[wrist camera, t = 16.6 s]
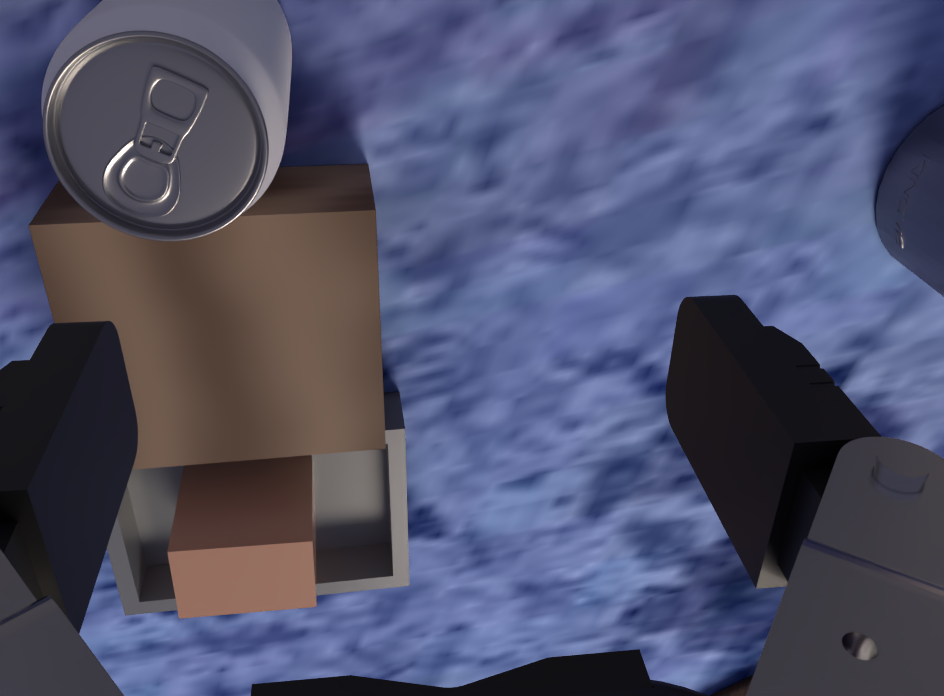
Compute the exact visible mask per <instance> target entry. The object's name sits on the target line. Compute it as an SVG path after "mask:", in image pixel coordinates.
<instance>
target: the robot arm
mask: <svg viewBox="0 0 944 696" xmlns="http://www.w3.org/2000/svg"><path fill="white" fill-rule="evenodd" d="M876 222H877V229H878V232H879V235H880V238H881V241H882V243H883V245H884V246H885V248H886V249H887V251H888V252H889V254H890V255H891V256H893V257H894V258H895V259H896V260H897V261H899V262H900V263H901V264H902V265H904V266H905V267H906V268H908V269H909V270H910V271H911V272H913V273H914V274H915V275H917V276H918V277H919V278H920V279H922V280H923V281H924V282H926V283H927V284H928V285H929V286H931V287H932V288H933V289H935V290H936V291H937V292H938V293H940V294H941V295H942V296H943V297H944V106H942V107H941V108H939V109H938V110H936V111H934V112H933V113H931V114H930V115H929V116H928V117H927V118H926V119H925V120H924V121H923V122H921V123H920V124H919V125H918V126H917V127H916V128H915V129H914V130H913V131H912V132H911V133H910V135H909V136H908V137H907V138H906V140H905V141H904V142H903V143H902V144H901V146H900V147H899V148H898V150H897V151H896V153H895V155H894V157H893V158H892V160H891V162H890V163H889V165H888V167H887V169H886V171H885V174H884V177H883V179H882V182H881V185H880V187H879V192H878V198H877V204H876ZM666 408H667V414H668V419H669V422H670V425H671V427H672V430H673V432H674V433H675V435H676V437H677V439H678V441H679V443H680V445H681V447H682V449H683V451H684V452H685V454H686V456H687V458H688V460H689V462H690V464H691V466H692V468H693V470H694V471H695V473H696V475H697V477H698V479H699V481H700V483H701V485H702V487H703V489H704V490H705V492H706V494H707V496H708V498H709V500H710V502H711V504H712V506H713V508H714V509H715V511H716V513H717V515H718V517H719V519H720V521H721V523H722V525H723V527H724V528H725V530H726V532H727V534H728V536H729V538H730V540H731V542H732V544H733V546H734V547H735V549H736V551H737V553H738V555H739V557H740V559H741V561H742V563H743V565H744V566H745V568H746V570H747V572H748V574H749V576H750V578H751V580H752V582H753V584H754V585H755V587H756V589H757V588H769V587H781V586H786V588H785V591H784V594H783V597H782V599H781V602H780V605H779V607H778V610H777V613H776V616H775V618H774V621H773V624H772V626H771V629H770V632H769V634H768V637H767V640H766V643H765V645H764V648H763V651H762V653H761V656H760V659H759V662H758V664H757V667H756V670H755V672H754V675H753V678H752V681H751V683H750V686H749V689H748V691H747V694H746V696H944V459H943V458H942V457H940V456H939V455H937V454H935V453H934V452H932V451H930V450H928V449H926V448H923V447H921V446H919V445H916V444H913V443H910V442H907V441H903V440H899V439H894V438H888V437H881V436H880V434H879V433H878V432H877V431H876V430H875V429H874V427H873V426H872V425H871V424H870V423H869V422H868V420H867V419H866V418H865V417H864V416H863V414H862V413H861V412H860V411H859V410H858V409H857V407H856V406H855V405H854V404H853V403H852V402H851V400H850V399H849V398H848V397H847V396H846V395H845V393H844V392H843V391H842V390H841V389H840V388H839V386H835V385H834V380H833V379H832V378H831V377H830V376H829V375H828V373H827V372H826V371H825V370H824V369H820V364H819V363H818V362H817V361H816V359H815V358H814V357H813V356H812V355H811V354H810V352H809V351H808V350H807V349H806V348H805V346H804V345H803V344H802V343H800V342H799V341H797V340H795V339H794V338H792V337H790V336H789V335H787V334H785V333H784V332H782V331H780V330H779V329H777V328H775V327H774V326H763V325H762V324H761V323H760V322H759V320H758V319H757V318H756V317H755V315H754V314H753V313H752V312H751V310H750V309H749V308H748V307H747V305H746V304H745V303H744V302H743V301H742V299H741V298H740V297H739V296H737V295H722V296H699V297H686V298H684V299H683V301H682V302H681V304H680V307H679V311H678V316H677V322H676V328H675V334H674V340H673V347H672V353H671V359H670V365H669V372H668V378H667V384H666ZM137 447H138V424H137V416H136V411H135V406H134V402H133V397H132V393H131V388H130V384H129V379H128V375H127V371H126V366H125V362H124V357H123V353H122V348H121V344H120V339H119V335H118V332H117V329H116V327H115V325H114V324H113V323H112V322H111V321H93V322H70V323H53V324H51V325H50V326H49V328H48V329H47V331H46V333H45V335H44V336H43V338H42V340H41V342H40V343H39V345H38V347H37V349H36V350H35V352H34V354H33V356H32V357H31V359H30V360H23V361H12V362H10V363H9V364H8V365H6V366H5V367H4V368H2V369H1V370H0V696H124V695H123V694H122V692H121V691H120V689H119V688H118V687H117V685H116V684H115V683H114V681H113V680H112V679H111V677H110V676H109V674H108V673H107V672H106V670H105V669H104V668H103V666H102V665H101V664H100V662H99V661H98V659H97V658H96V657H95V655H94V654H93V653H92V651H91V650H90V649H89V647H88V646H87V644H86V643H85V642H84V640H83V639H82V638H81V636H80V635H79V632H80V629H81V626H82V623H83V620H84V617H85V614H86V611H87V608H88V604H89V601H90V598H91V595H92V592H93V589H94V586H95V583H96V580H97V577H98V573H99V570H100V567H101V564H102V561H103V558H104V555H105V552H106V549H107V546H108V542H109V539H110V536H111V533H112V530H113V527H114V524H115V521H116V518H117V515H118V511H119V508H120V505H121V502H122V499H123V496H124V493H125V490H126V487H127V484H128V480H129V477H130V474H131V471H132V468H133V465H134V462H135V458H136V454H137ZM251 696H707V695H705V694H702V693H699V692H697V691H694V690H691V689H688V688H685V687H682V686H678V685H674V684H670V683H665V682H661V681H655V680H650V678H649V676H648V673H647V670H646V667H645V664H644V661H643V658H642V656H641V653H640V650H628V651H617V652H605V653H594V654H583V655H572V656H561V657H550V658H545V659H542V660H539V661H536V662H533V663H530V664H527V665H524V666H521V667H518V668H515V669H512V670H509V671H506V672H503V673H500V674H497V675H494V676H491V677H488V678H485V679H482V680H479V681H476V682H473V683H470V684H467V685H464V686H460V687H454V688H443V687H435V686H427V685H420V684H412V683H405V682H397V681H389V680H382V679H374V678H367V677H359V676H352V675H350V676H339V677H328V678H317V679H305V680H294V681H283V682H272V683H261V684H252V690H251Z"/></svg>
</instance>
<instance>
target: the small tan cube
mask: <svg viewBox="0 0 944 696" xmlns="http://www.w3.org/2000/svg"><path fill="white" fill-rule="evenodd" d="M167 553H168V559H169V564H170V570H171V575H172V581H173V586H174V592H175V598H176V603H177V609H178V614H179V618H191V617H203V616H214V615H226V614H238V613H249V612H261V611H272V610H284V609H296V608H307V607H317V606H316V513H315V496H314V479H313V462H312V455H307V456H293V457H281V458H269V459H256V460H244V461H232V462H220V463H208V464H196V465H184V468H183V473H182V478H181V484H180V489H179V494H178V499H177V504H176V510H175V515H174V520H173V525H172V530H171V536H170V541H169V546H168V551H167Z"/></svg>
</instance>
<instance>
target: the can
mask: <svg viewBox="0 0 944 696" xmlns="http://www.w3.org/2000/svg"><path fill="white" fill-rule="evenodd" d="M291 68H292V43H291V36H290V31H289V27H288V23H287V20H286V18H285V15H284V13H283V10H282V8H281V6H280V4H279V3H278V1H277V0H102V1H101V2H100V3H99V4H98V5H97V6H96V7H95V8H94V9H93V10H91V11H90V12H89V13H88V14H87V15H86V16H85V17H84V18H83V19H82V20H81V21H80V22H79V23H78V24H77V25H76V26H75V27H74V28H73V29H72V30H71V31H70V32H69V33H68V35H67V36H66V37H65V38H64V39H63V41H62V42H61V43H60V45H59V46H58V48H57V50H56V51H55V53H54V55H53V57H52V59H51V61H50V63H49V66H48V68H47V71H46V74H45V78H44V82H43V88H42V98H41V109H42V128H43V138H44V143H45V148H46V151H47V155H48V157H49V160H50V163H51V165H52V167H53V169H54V171H55V173H56V175H57V177H58V179H59V180H60V182H61V183H62V185H63V186H64V188H65V189H66V190H67V191H68V193H69V194H70V195H71V196H72V197H73V198H74V200H75V201H76V202H77V203H78V204H79V205H80V206H82V207H83V208H84V209H85V210H86V211H87V212H89V213H90V214H91V215H93V216H94V217H95V218H97V219H98V220H100V221H101V222H103V223H105V224H106V225H108V226H110V227H112V228H114V229H116V230H119V231H121V232H123V233H126V234H129V235H132V236H135V237H139V238H143V239H148V240H155V241H185V240H191V239H196V238H200V237H203V236H206V235H209V234H212V233H214V232H216V231H218V230H220V229H222V228H224V227H226V226H227V225H229V224H230V223H232V222H233V221H234V220H236V219H237V218H238V217H239V216H240V215H241V214H242V213H243V212H245V211H246V210H247V209H249V208H250V207H251V206H252V205H253V204H254V203H255V202H257V200H258V199H259V198H260V197H261V196H262V195H263V194H264V192H265V191H266V190H267V188H268V187H269V185H270V184H271V182H272V180H273V178H274V176H275V174H276V172H277V170H278V167H279V165H280V162H281V159H282V155H283V151H284V146H285V140H286V132H287V122H288V110H289V97H290V83H291Z"/></svg>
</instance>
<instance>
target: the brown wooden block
mask: <svg viewBox="0 0 944 696" xmlns="http://www.w3.org/2000/svg"><path fill="white" fill-rule="evenodd" d="M29 229H30V233H31V236H32V240H33V244H34V248H35V252H36V255H37V259H38V263H39V267H40V270H41V274H42V278H43V282H44V286H45V289H46V293H47V297H48V301H49V304H50V308H51V312H52V316H53V320H54V323H70V322H93V321H111V322H112V323H113V324H114V325H115V327H116V329H117V332H118V335H119V339H120V344H121V348H122V353H123V357H124V362H125V366H126V371H127V375H128V379H129V384H130V388H131V393H132V397H133V402H134V406H135V411H136V416H137V424H138V447H137V454H136V458H135V462H134V465H133V468H132V470H135V469H147V468H159V467H172V466H184V465H196V464H208V463H220V462H232V461H244V460H256V459H269V458H281V457H293V456H305V455H317V454H329V453H341V452H353V451H366V450H378V449H386V441H385V417H384V394H383V370H382V346H381V323H380V299H379V276H378V252H377V228H376V209H375V203H374V197H373V191H372V185H371V178H370V172H369V166H368V164H351V165H324V166H296V167H278V170H277V172H276V174H275V176H274V178H273V180H272V182H271V184H270V185H269V187H268V188H267V190H266V191H265V192H264V194H263V195H262V196H261V197H260V198H259V199H258V200H257V202H255V203H254V204H253V205H252V206H251V207H250V208H249V209H247V210H246V211H245V212H243V213H242V214H241V215H240V216H239V217H238V218H237V219H236V220H234V221H233V222H232V223H230V224H229V225H227V226H226V227H224V228H222V229H220V230H218V231H216V232H214V233H212V234H209V235H206V236H203V237H200V238H196V239H191V240H185V241H155V240H148V239H143V238H139V237H135V236H132V235H129V234H126V233H123V232H121V231H119V230H116V229H114V228H112V227H110V226H108V225H106V224H105V223H103V222H101V221H100V220H98V219H97V218H95V217H94V216H93V215H91V214H90V213H89V212H87V211H86V210H85V209H84V208H83V207H82V206H80V205H79V204H78V203H77V202H76V201H75V200H74V198H73V197H72V196H71V195H70V194H69V193H68V191H67V190H66V189H65V188H64V186H63V185H62V183H61V182H60V180H59V181H58V183H57V184H56V186H55V187H54V189H53V190H52V192H51V193H50V195H49V196H48V198H47V199H46V200H45V202H44V203H43V205H42V206H41V208H40V209H39V211H38V212H37V214H36V215H35V217H34V218H33V220H32V221H31V223H30V224H29Z"/></svg>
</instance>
